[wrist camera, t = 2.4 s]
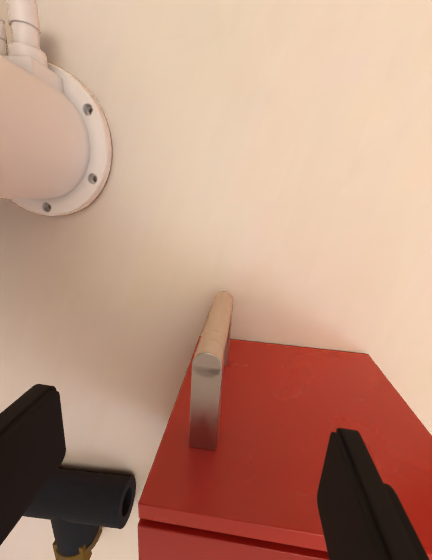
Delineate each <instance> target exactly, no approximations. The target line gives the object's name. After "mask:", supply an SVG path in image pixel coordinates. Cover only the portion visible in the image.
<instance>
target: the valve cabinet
mask: <svg viewBox="0 0 432 560" xmlns="http://www.w3.org/2000/svg"><path fill="white" fill-rule="evenodd" d="M138 547H139V560H329V556H328V552H326V551H320V550H314V549H309V548H303V547H298V546H292V545H287V544H281V543H275V542H270V541H264V540H259V539H253V538H247V537H242V536H236V535H231V534H225V533H219V532H214V531H208V530H203V529H197V528H191V527H186V526H180V525H175V524H169V523H163V522H158V521H152V520H147V519H141V518H140V520H139V523H138Z"/></svg>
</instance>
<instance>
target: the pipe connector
mask: <svg viewBox="0 0 432 560" xmlns="http://www.w3.org/2000/svg"><path fill="white" fill-rule="evenodd" d="M135 489H136V482H135V478H134V477H131V476H122V475H113V474H103V473H94V472H85V471H76V470H66V469H56V471H55V472H54V473H53V475H52V476H51V477H50V479H49V480H48V481H47V483H46V484H45V486H44V487H43V488H42V490H41V491H40V492H39V494H38V495H37V496H36V498H35V499H34V501H33V502H32V503H31V505H30V506H29V507H28V509H27V510H26V511H25V513H24V514H23V515H22V516H27V517H34V518H42V519H50V520H51V524H52V528H53V533H54V537H55V541H54V543H53V548H54V553H55V557H56V560H89V559H90V557H91V555H92V552H91V550H92V549H93V547H94V546H95V544H96V543H97V541H98V539H99V537H100V535H101V533H102V526H103V527H110V528H118V529H122V528H123V527H124V526H125V524H126V523H127V521H128V518H129V516H130V513H131V510H132V506H133V502H134V497H135Z"/></svg>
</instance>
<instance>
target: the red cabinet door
mask: <svg viewBox="0 0 432 560" xmlns="http://www.w3.org/2000/svg"><path fill="white" fill-rule="evenodd" d="M232 309H233V297H232V296H231V294H229V293H228V292H220V293H218V294H217V295H216V297H215V299H214V302H213V305H212V308H211V311H210V313H209V316H208V319H207V322H206V325H205V327H204V330H203V333H202V336H200V337H199V340H198V343H197V345H196V348H195V351H194V353H193V356H192V359H191V362H190V364H189V367H188V370H187V372H186V375H185V378H184V381H183V383H182V386H181V389H180V391H179V394H178V397H177V400H176V402H175V405H174V408H173V410H172V413H171V416H170V419H169V421H168V424H167V427H166V429H165V432H164V435H163V438H162V440H161V443H160V446H159V448H158V451H157V454H156V457H155V459H154V462H153V465H152V467H151V470H150V473H149V476H148V478H147V481H146V484H145V486H144V489H143V492H142V495H141V497H140V500H139V503H138V509H139V518H141V519H147V520H152V521H158V522H163V523H169V524H175V525H180V526H186V527H191V528H197V529H203V530H208V531H214V532H219V533H225V534H231V535H236V536H242V537H247V538H253V539H259V540H264V541H270V542H275V543H281V544H287V545H292V546H298V547H303V548H309V549H314V550H320V551H326V552H327V547H326V543H325V538H324V533H323V529H322V524H321V520H320V515H319V510H318V505H317V492H318V487H319V483H320V478H321V474H322V469H323V465H324V460H325V456H326V451H327V447H328V442H329V438H330V434H331V432H336V430H337V428H345V429H352V430H357V431H358V432H359V433H360V435H361V437H362V439H363V441H364V443H365V445H366V447H367V449H368V452H369V454H370V456H371V458H372V460H373V462H374V464H375V466H376V469H377V471H378V473H379V475H380V477H381V479H382V481H383V483H386V484H389V485H390V486H391V487H392V488H393V489H394V491H395V492H396V494H397V496H398V498H399V500H400V502H401V504H402V506H403V508H404V510H405V512H406V514H407V516H408V518H409V520H410V522H411V524H412V526H413V528H414V530H415V532H416V534H417V536H418V538H419V540H420V542H421V544H422V546H423V548H424V550H425V552H426V554H427V556H428V558H429V560H432V435H431V434H430V433H429V432H428V430H427V429H426V428H425V426H424V425H423V424H422V423H421V421H420V420H419V419H418V418H417V416H416V415H415V414H414V412H413V411H412V410H411V409H410V407H409V406H408V405H407V403H406V402H405V401H404V400H403V398H402V397H401V396H400V394H399V393H398V392H397V391H396V389H395V388H394V387H393V386H392V384H391V383H390V382H389V380H388V379H387V378H386V377H385V375H384V374H383V373H382V371H381V370H380V369H379V368H378V366H377V365H376V364H375V362H374V361H373V360H372V359H371V357H370V356H369V355H368V354H362V353H352V352H343V351H334V350H325V349H316V348H306V347H297V346H288V345H279V344H270V343H261V342H251V341H242V340H233V339H230V334H231V321H232Z"/></svg>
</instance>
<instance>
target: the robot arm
mask: <svg viewBox="0 0 432 560" xmlns="http://www.w3.org/2000/svg"><path fill="white" fill-rule="evenodd" d="M6 1H7V9H8V17H9V24H10V25H11V29H12V37H13V42H12V43H8V52H7V45H6V44H7V37H6V30H5V22H4V21H3V20H2V19H0V198H9V199H10V200H11V201H12V202H14V203H15V204H17V205H19V206H20V207H22V208H24V209H26V210H28V211H30V212H33V213H36V214H41V215H45V216H59V215H68V214H71V213H75V212H78V211H80V210H82V209H83V208H85V207H87V206H88V205H89V204H90V203H91V202H92V201H94V200H95V199H96V198H97V196H98V195H99V193H100V192H101V190H102V189H103V188H104V185H105V183H106V180H107V178H108V176H109V171H110V166H111V160H112V145H111V137H110V131H109V128H108V125H107V121H106V118H105V116H104V114H103V112H102V110H101V108H100V106H99V104H98V102H97V101H96V100H95V98H94V97H93V95H92V94H91V92H90V91H89V90H88V89H87V88H86V87H85V86H84V85H83V84H82V83H81V82H80V81H79V80H77V79H76V78H75V77H73V76H72V75H71V74H69V73H68V72H66V71H65V70H63V69H61V68H59V67H57V66H56V65H54V64H50V63H47V55H46V54H45V53H44V52H43V51H41V49H40V39H39V34H40V26H39V16H38V7H37V3H36V1H35V0H6ZM8 53H9V55H8ZM92 110H93V111H92ZM91 111H92V113H91ZM96 177H97V182H96V180H95V179H96ZM65 453H66V446H65V437H64V429H63V420H62V412H61V403H60V395H59V392H58V391H56V388H55V387H54V386H49V385H42V384H36V385H34V386H33V387H32V388H30V389H29V390H28V391H27V392H26V393H24V394H23V395H22V396H21V397H20V398H18V399H17V400H16V401H15V402H14V403H12V404H11V405H10V406H9V407H8V408H6V409H5V410H4V411H3V412H2V413H0V545H1V544H2V543H3V541H4V540H5V539H6V537H7V536H8V534H9V533H10V532H11V530H12V529H13V528H14V526H15V525H16V524H17V522H18V521H19V520H20V518H21V517H22V515H23V514H24V513H25V511H26V510H27V509H28V507H29V506H30V505H31V503H32V502H33V501H34V499H35V498H36V496H37V495H38V494H39V492H40V491H41V490H42V488H43V487H44V486H45V484H46V483H47V481H48V480H49V479H50V477H51V476H52V475H53V473H54V472H55V471H56V469H57V468H58V467H59V465H60V464H61V462H62V461H63V459H64V457H65ZM317 505H318V510H319V515H320V520H321V524H322V529H323V533H324V538H325V543H326V547H327V552H328V556H329V560H429V558H428V556H427V554H426V552H425V550H424V548H423V546H422V544H421V542H420V540H419V538H418V536H417V534H416V532H415V530H414V528H413V526H412V524H411V522H410V520H409V518H408V516H407V514H406V512H405V510H404V508H403V506H402V504H401V502H400V500H399V498H398V496H397V494H396V492H395V491H394V489H393V488H392V487H391V486H390V485H389V484H386V483H383V481H382V479H381V477H380V475H379V473H378V471H377V469H376V466H375V464H374V462H373V460H372V458H371V456H370V454H369V452H368V449H367V447H366V445H365V443H364V441H363V439H362V437H361V435H360V433H359V432H358V431H357V430H352V429H345V428H337V430H336V432H331V434H330V438H329V442H328V447H327V451H326V456H325V460H324V465H323V469H322V474H321V478H320V483H319V487H318V492H317Z"/></svg>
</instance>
